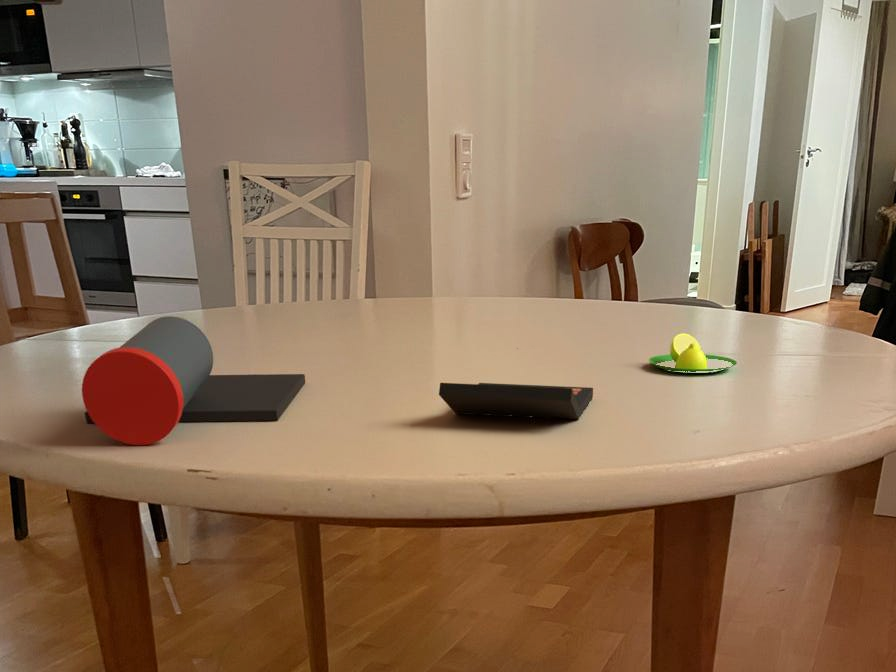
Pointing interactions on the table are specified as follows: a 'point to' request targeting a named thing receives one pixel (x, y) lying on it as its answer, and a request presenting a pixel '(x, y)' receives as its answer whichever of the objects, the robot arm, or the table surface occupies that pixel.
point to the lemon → (687, 356)
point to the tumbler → (147, 381)
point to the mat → (241, 398)
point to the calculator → (516, 399)
